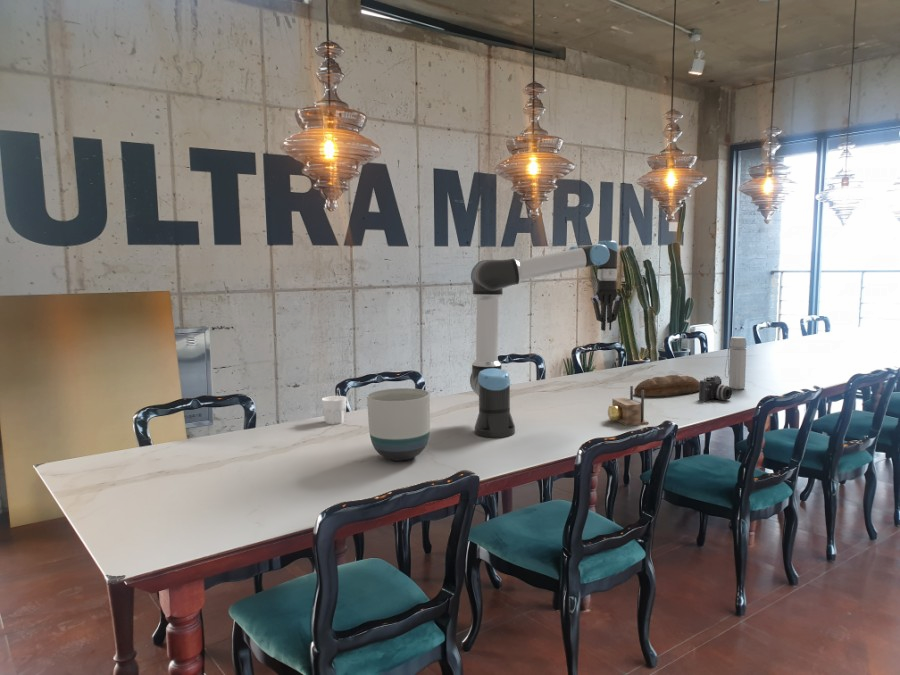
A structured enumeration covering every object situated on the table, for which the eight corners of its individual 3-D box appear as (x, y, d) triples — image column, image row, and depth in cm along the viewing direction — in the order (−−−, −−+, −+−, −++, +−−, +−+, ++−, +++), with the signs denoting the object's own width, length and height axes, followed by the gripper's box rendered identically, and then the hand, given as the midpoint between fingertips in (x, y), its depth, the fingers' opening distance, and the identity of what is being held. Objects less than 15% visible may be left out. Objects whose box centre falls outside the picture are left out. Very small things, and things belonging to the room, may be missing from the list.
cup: (318, 424, 248) (317, 400, 247) (331, 418, 257) (330, 395, 256) (339, 425, 244) (338, 401, 243) (351, 419, 254) (350, 396, 252)
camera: (719, 404, 265) (720, 381, 264) (696, 400, 273) (696, 378, 272) (735, 399, 274) (736, 377, 272) (712, 395, 282) (713, 374, 281)
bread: (709, 392, 290) (710, 375, 289) (648, 400, 277) (648, 382, 276) (685, 386, 305) (686, 370, 304) (626, 394, 291) (626, 376, 290)
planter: (380, 471, 188) (377, 404, 185) (362, 453, 206) (360, 392, 204) (440, 461, 196) (439, 396, 193) (418, 445, 214) (416, 386, 212)
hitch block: (626, 425, 233) (626, 392, 232) (612, 418, 245) (612, 386, 243) (648, 423, 235) (648, 391, 233) (633, 416, 247) (633, 385, 245)
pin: (614, 422, 236) (614, 407, 235) (607, 418, 241) (607, 404, 240) (643, 419, 238) (643, 405, 237) (636, 416, 243) (636, 402, 243)
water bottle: (746, 387, 297) (747, 336, 294) (744, 390, 291) (745, 338, 288) (725, 385, 302) (727, 336, 299) (723, 388, 296) (724, 337, 293)
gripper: (595, 280, 237) (594, 340, 240) (626, 279, 240) (625, 339, 242) (587, 280, 245) (587, 338, 248) (618, 279, 247) (616, 337, 250)
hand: (605, 338), depth 245 cm, fingers closed
